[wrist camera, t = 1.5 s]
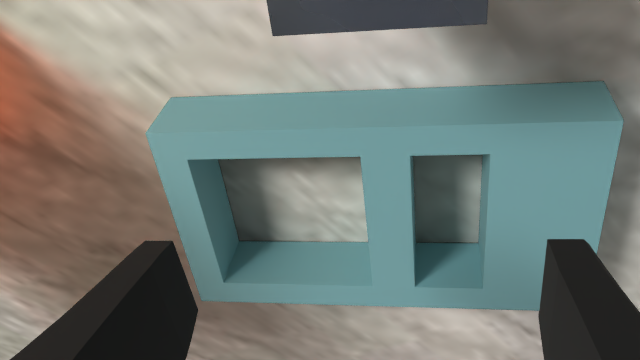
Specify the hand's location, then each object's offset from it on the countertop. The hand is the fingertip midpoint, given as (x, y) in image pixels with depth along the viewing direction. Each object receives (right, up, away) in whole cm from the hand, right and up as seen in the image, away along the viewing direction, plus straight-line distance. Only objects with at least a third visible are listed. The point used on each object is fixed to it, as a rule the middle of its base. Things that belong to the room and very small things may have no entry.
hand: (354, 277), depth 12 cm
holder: (+2, +2, +12) cm, 12 cm away
